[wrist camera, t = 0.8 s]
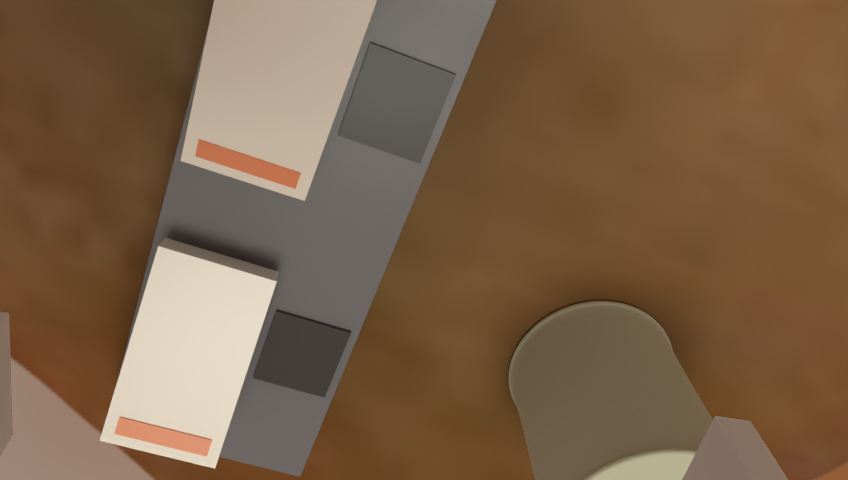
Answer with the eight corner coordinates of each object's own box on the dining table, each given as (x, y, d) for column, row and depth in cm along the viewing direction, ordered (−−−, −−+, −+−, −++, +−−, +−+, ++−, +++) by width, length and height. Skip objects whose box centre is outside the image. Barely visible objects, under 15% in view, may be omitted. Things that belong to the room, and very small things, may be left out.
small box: (165, 237, 32) (157, 246, 31) (278, 271, 33) (276, 281, 32) (109, 423, 34) (99, 441, 32) (219, 450, 35) (214, 469, 33)
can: (482, 410, 43) (514, 592, 32) (551, 278, 39) (614, 435, 29) (623, 450, 45) (698, 634, 34) (702, 327, 41) (814, 492, 31)
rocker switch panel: (320, -345, 27) (306, -388, 22) (568, -226, 29) (604, -242, 24) (129, 378, 41) (96, 446, 36) (307, 425, 43) (297, 495, 38)
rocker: (238, -75, 25) (225, -57, 24) (381, -19, 26) (376, 2, 25) (192, 138, 30) (179, 162, 29) (311, 177, 31) (304, 202, 30)
